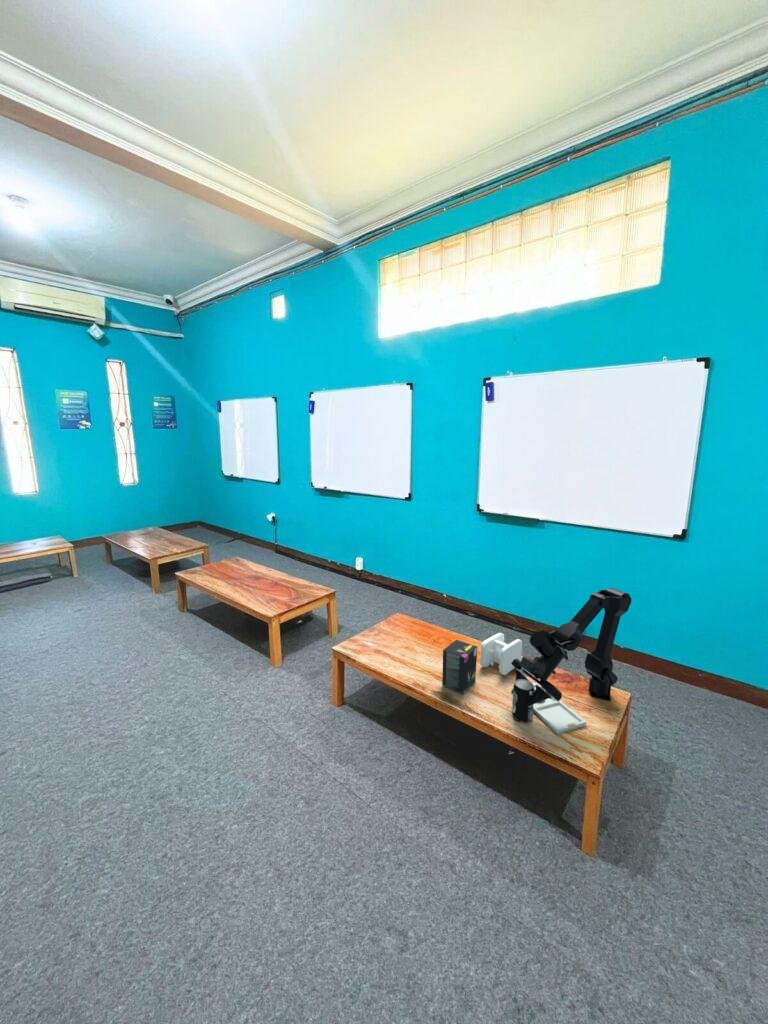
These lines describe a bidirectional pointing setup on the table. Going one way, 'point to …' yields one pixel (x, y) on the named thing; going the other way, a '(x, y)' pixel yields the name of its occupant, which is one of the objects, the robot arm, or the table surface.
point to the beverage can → (522, 700)
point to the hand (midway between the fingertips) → (519, 699)
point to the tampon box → (459, 666)
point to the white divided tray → (557, 715)
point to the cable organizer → (500, 653)
